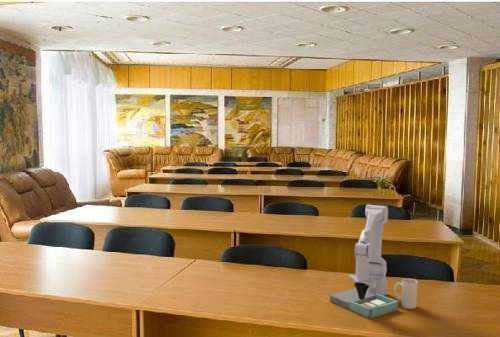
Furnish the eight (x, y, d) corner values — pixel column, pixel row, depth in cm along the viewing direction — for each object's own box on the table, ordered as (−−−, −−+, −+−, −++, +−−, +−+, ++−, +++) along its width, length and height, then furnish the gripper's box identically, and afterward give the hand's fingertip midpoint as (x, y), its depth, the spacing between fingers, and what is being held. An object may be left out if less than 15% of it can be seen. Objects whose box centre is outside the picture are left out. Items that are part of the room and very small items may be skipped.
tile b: (375, 305, 209) (375, 310, 209) (367, 302, 213) (367, 306, 213) (367, 308, 206) (367, 312, 206) (359, 304, 210) (359, 309, 211)
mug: (416, 304, 218) (417, 279, 217) (416, 309, 212) (417, 283, 211) (393, 301, 222) (394, 276, 221) (393, 307, 215) (394, 281, 214)
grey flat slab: (356, 293, 232) (357, 288, 232) (375, 301, 222) (376, 295, 222) (329, 301, 222) (330, 295, 222) (348, 309, 212) (348, 303, 212)
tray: (376, 301, 222) (376, 293, 221) (397, 310, 212) (398, 301, 211) (349, 309, 212) (349, 301, 211) (370, 319, 202) (370, 309, 201)
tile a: (385, 302, 213) (385, 306, 213) (377, 299, 217) (377, 303, 217) (378, 304, 210) (378, 309, 210) (369, 301, 214) (369, 305, 215)
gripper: (344, 266, 215) (343, 295, 216) (368, 275, 203) (367, 305, 204) (355, 264, 219) (354, 292, 220) (379, 272, 207) (378, 302, 208)
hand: (361, 298), depth 213 cm, fingers closed
